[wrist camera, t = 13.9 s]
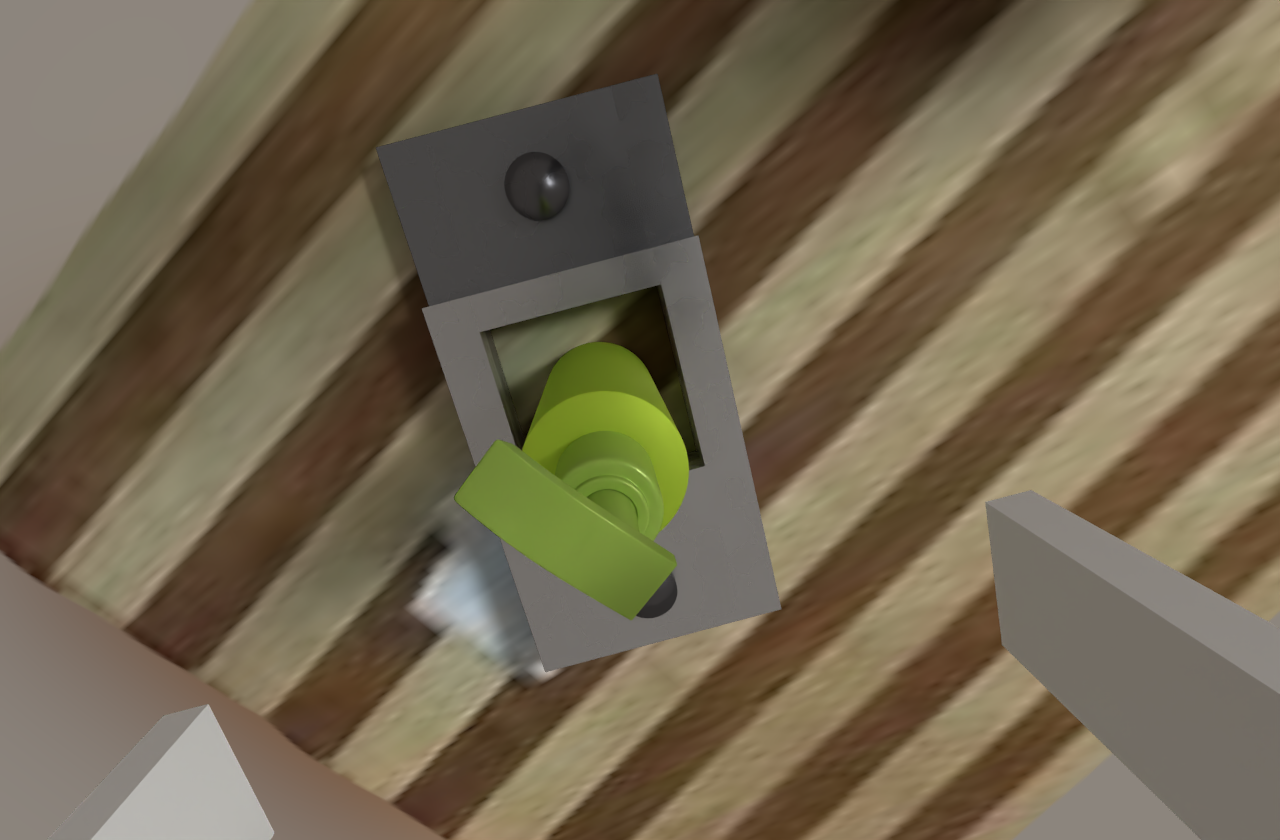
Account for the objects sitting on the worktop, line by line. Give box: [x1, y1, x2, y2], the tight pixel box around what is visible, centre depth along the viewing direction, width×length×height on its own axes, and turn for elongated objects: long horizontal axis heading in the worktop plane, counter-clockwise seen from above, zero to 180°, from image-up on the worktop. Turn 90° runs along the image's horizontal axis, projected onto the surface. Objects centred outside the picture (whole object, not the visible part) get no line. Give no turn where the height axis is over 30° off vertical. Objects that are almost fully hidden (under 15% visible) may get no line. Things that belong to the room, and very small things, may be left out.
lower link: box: [376, 74, 701, 461], centre depth 33 cm, size 20×14×2 cm, turn 14°
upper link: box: [422, 236, 781, 672], centre depth 34 cm, size 20×14×4 cm, turn 14°
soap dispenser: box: [454, 342, 689, 620], centre depth 25 cm, size 6×7×20 cm
